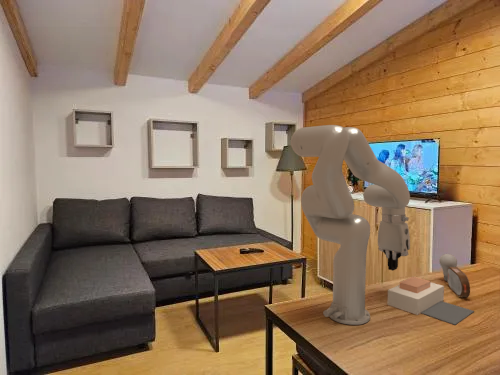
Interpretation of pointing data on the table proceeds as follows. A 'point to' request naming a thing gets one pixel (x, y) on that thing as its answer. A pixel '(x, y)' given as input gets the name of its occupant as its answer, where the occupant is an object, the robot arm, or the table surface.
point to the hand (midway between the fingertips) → (392, 269)
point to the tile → (414, 284)
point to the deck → (415, 298)
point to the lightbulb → (447, 263)
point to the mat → (447, 312)
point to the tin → (458, 282)
